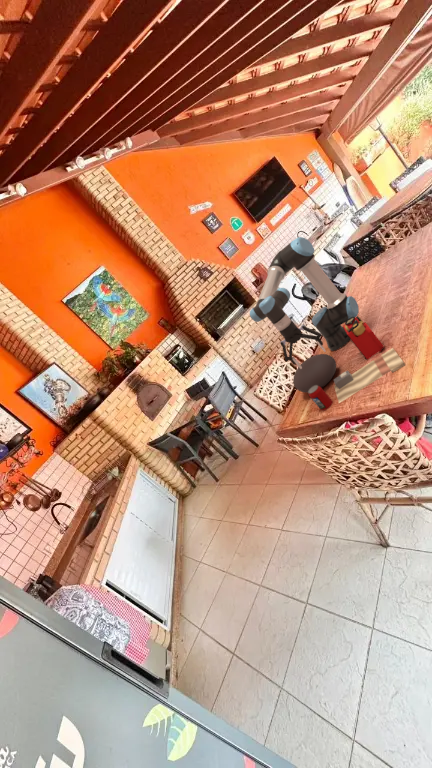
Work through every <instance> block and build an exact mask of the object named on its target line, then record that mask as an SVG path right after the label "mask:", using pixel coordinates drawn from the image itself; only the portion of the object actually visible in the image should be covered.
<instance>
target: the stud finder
mask: <svg viewBox="0 0 432 768" xmlns="http://www.w3.org/2000/svg"><path fill="white" fill-rule="evenodd" d="M353 380H354V379H353V377H352V374H351V372H350V371H349V369H348V370H346V371H344V372H341V374H339V375H338V376H337V377H335V378H334V379H333V383H334V386H335V385H336V386H337V387H338V388H339V389H340V388H342V387H343V386H345V385H346V384H348V383H349V382H351V381H353Z"/></svg>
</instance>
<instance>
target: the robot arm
mask: <svg viewBox="0 0 432 768" xmlns="http://www.w3.org/2000/svg"><path fill="white" fill-rule="evenodd" d="M294 268H295V270H296V271H297V272H301V273H302V274H303V275H304V276H305V277H306V279H307V280H308V281H309V282H310V284H312V286H313V287H314V288H315V290H316V291H317V293H319V295H320V296H321V297H322V299H323V300H325V302H326V304H327V306H323V307H321V308H320V309H319V310H318V311H317V312H316V313H315V314H314V315H313V317H312V318H311V323H312V324H313V326H314V327H315V328H316V329H317V331H316V330H315V329H312V328H309V327H307V326H306V325H305V324H301V326H300V327H297V325H296V323H294V322H293V321H292V320H291V318H290V317H289V316H288V314H287V312H285V310H284V307H286V305H287V304H288V303H289V301H290V298H291V292H290V290H288V288H285V287H280V284H281V281H282V280H283V279H284V278H285V276H286V274H288V272H290V271H291V270H293V269H294ZM339 290H340V289H338V287H336V285H335V284H334V283H333V281H332V280H331V279H330V277H329V276H328V275H327V274H326V273H325V272H324V270H323V269H322V268H321V266H320V265H319V264H318V263H317V261H316V260H315V247H314V245H313V243H312V242H311V241H310V240H308V239H307V238H306V237H302V236H299V237H297V238H295V239H293V240H292V241H290V243H288V244H286V246H284V248H282V249H281V250H279V251H278V252H277V253H276V254H275V256H274V257H273V259H272V261H271V262H270V264H269V266H268V269H267V277H266V279H265V282H264V284H263V286H262V289H261V292H260V294H259V297H258V298H257V302H256V305H255V306H254V307H252V308H251V309H250V310H249V317H250V319H251V320H252V321H253V322H255V323H259V322H261V321H264V320H265V319H266V318H267V320H269V321H270V322H271V324H272V326H274V327H275V328H276V330H277V331H279V333H280V334H281V336H282V337H283V338H284V339H283V340H280V345H281V347H282V352H283V355H284V356H283V357H284V360H285V362H289V361H290V362H291V363H292V364H293V365H295V366H297V368H298V367H299V368H300V369H302V366H301V364H300V362H299V361H298V360H297V358H295V356H293V344H296V343H297V342H299V341H300V340H301V339H308V340H312V341H313V340H314V341H315V343H316V344H317V345H318V346H319V347H320V349H322V352H324V353H326V351H327V350H326V348H325V347H324V346H323V345H324V343H323V341H322V339H321V337H323V338H324V340H325V342H326V344H327V349H329V351H331V352H335V351H338V350H339V348H340V347H341V348H343V347H344V346H345V345H344V344H346V343H347V342H348V341H349V340H350V341H351V339H350V338H348V336H347V334H346V332H345V330H344V329H343V324H345V322H346V321H347V320H348V319H349V318H351V317H355V318H356V317H357V316H358V315H359V310H360V309H359V305H358V302H357V300H356V298H355V297H354V296H352V295H349V296H348V295H346V293H341V291H339ZM302 331H305V332H307V333H309V334H306V333H304V332H303V333H302ZM350 341H349V342H350ZM349 342H348V343H349ZM286 343H289V351H288V352H289V353H288V354H287V349H286V345H287V344H286ZM348 343H347V344H348ZM347 344H346V345H347ZM343 345H344V346H343ZM342 346H343V347H342ZM341 348H340V349H341ZM337 349H338V350H337ZM334 350H335V351H334Z"/></svg>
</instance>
